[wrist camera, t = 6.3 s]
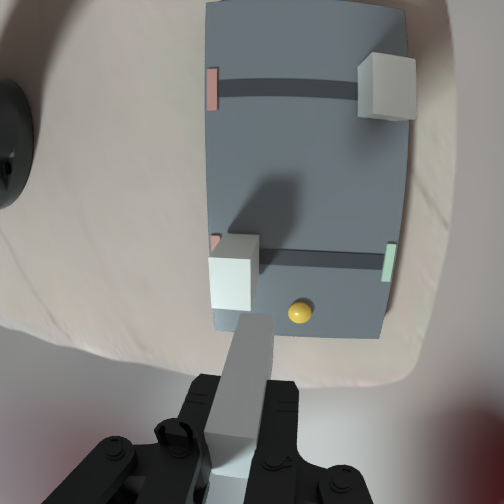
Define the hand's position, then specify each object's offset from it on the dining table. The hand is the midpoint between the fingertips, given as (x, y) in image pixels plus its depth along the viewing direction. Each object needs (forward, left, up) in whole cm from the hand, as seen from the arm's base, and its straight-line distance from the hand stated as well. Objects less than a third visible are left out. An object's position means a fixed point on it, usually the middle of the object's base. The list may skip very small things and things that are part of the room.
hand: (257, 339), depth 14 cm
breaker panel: (-5, +4, -12) cm, 14 cm away
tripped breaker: (-1, -2, -10) cm, 10 cm away
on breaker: (-9, +10, -10) cm, 17 cm away
